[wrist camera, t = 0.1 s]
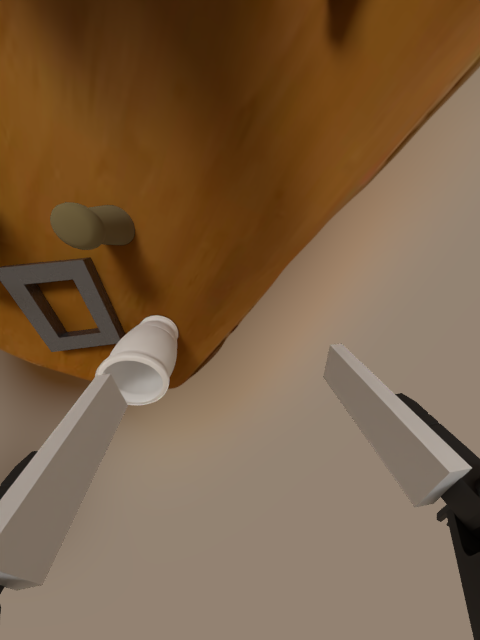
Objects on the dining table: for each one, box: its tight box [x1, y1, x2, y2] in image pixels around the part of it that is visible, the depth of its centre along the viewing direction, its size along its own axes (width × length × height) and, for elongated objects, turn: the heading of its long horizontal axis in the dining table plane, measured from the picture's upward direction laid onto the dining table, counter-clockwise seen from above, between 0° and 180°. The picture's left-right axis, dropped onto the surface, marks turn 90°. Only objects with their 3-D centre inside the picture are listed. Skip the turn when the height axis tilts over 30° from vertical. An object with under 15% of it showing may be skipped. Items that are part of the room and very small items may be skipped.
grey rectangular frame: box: [0, 258, 125, 352], centre depth 35 cm, size 17×14×2 cm
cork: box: [50, 202, 135, 250], centre depth 26 cm, size 6×6×11 cm
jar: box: [95, 315, 178, 405], centre depth 34 cm, size 11×10×15 cm
